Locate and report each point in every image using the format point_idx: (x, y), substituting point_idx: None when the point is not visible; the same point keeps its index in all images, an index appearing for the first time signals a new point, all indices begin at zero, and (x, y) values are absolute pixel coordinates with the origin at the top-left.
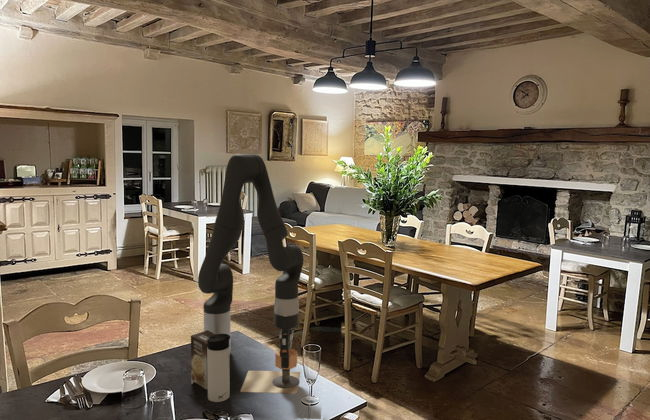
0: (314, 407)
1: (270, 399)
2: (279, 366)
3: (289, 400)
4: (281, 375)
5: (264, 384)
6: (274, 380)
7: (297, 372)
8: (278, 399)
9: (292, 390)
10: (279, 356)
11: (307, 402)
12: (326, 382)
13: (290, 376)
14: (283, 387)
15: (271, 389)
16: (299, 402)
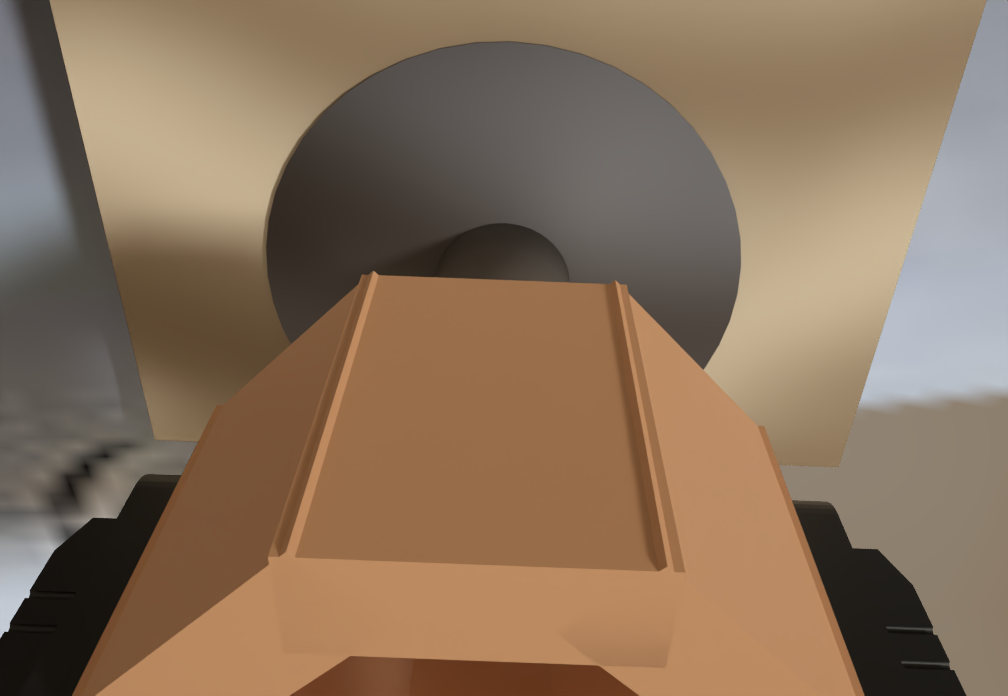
0: (26, 562)
1: (37, 28)
2: (242, 408)
3: (96, 312)
4: (754, 193)
5: None
6: (537, 80)
7: (829, 431)
8: (77, 160)
9: (228, 384)
10: (125, 655)
11: (112, 503)
12: None
13: (686, 344)
14: (285, 258)
15: (180, 52)
16: (84, 426)
